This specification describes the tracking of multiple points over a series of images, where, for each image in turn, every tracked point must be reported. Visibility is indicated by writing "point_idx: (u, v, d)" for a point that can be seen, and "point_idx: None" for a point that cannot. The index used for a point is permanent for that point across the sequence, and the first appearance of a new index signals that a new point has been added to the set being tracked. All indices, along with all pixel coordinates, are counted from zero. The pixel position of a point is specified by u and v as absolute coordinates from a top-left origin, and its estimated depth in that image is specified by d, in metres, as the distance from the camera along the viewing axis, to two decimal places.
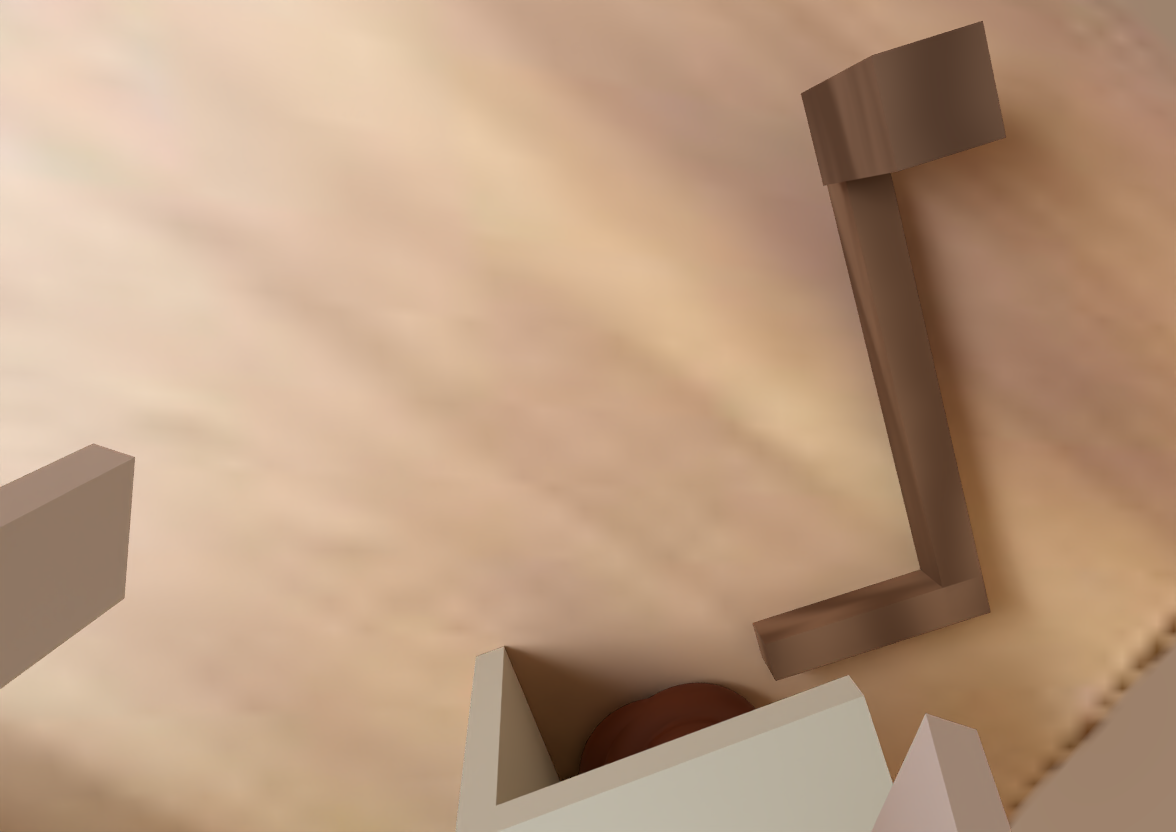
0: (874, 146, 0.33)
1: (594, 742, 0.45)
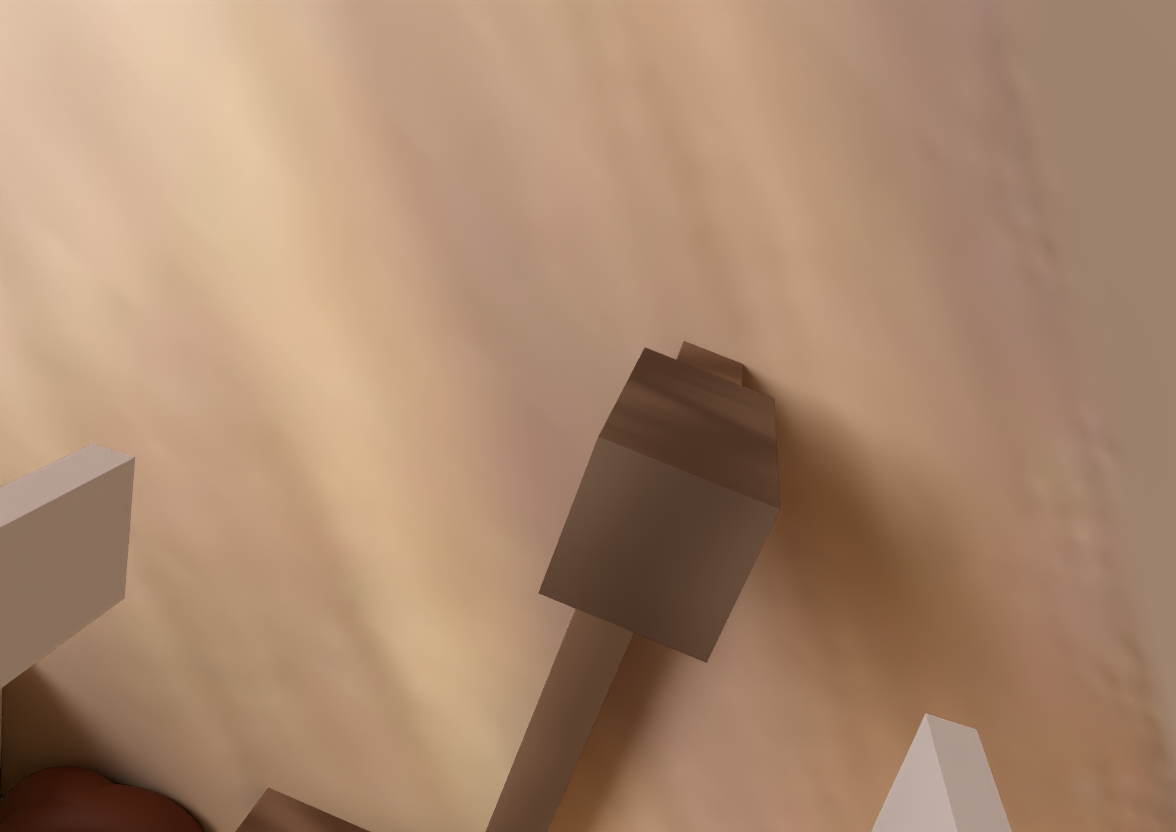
0: None
1: (26, 786, 0.37)
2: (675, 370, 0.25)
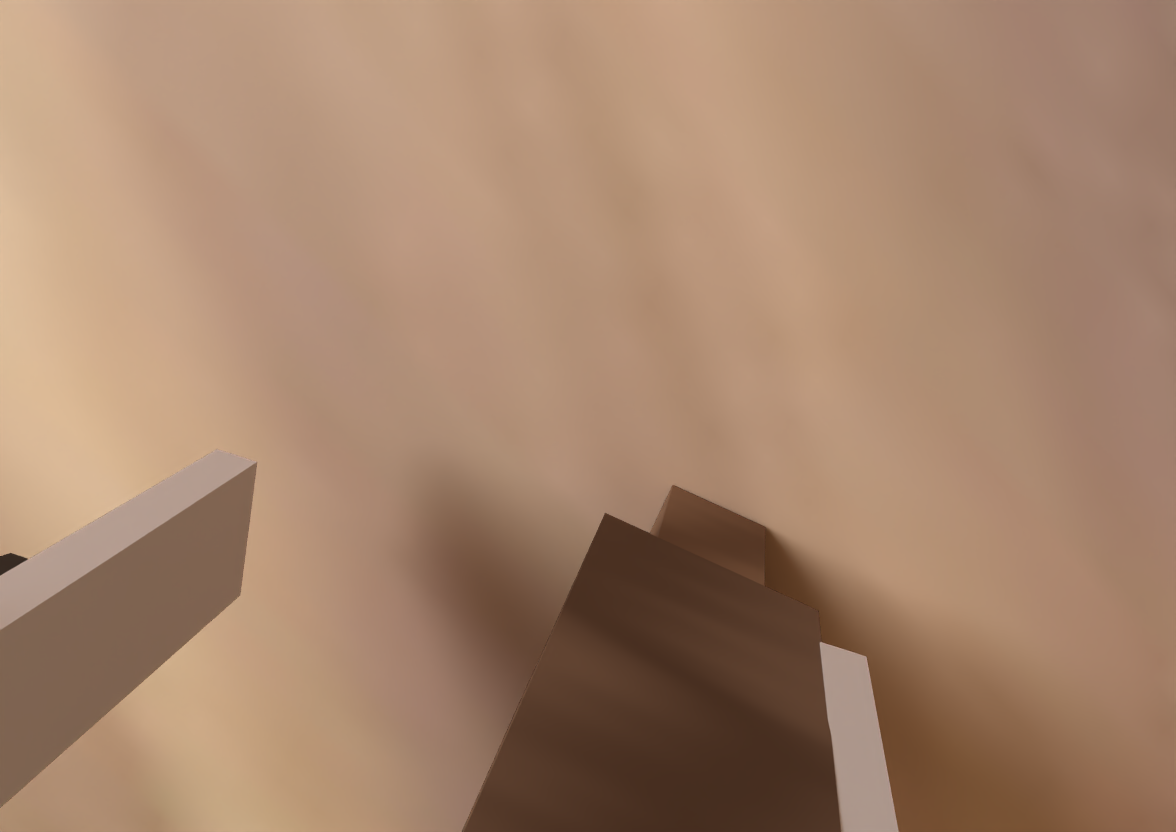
0: None
1: None
2: (653, 566, 0.15)
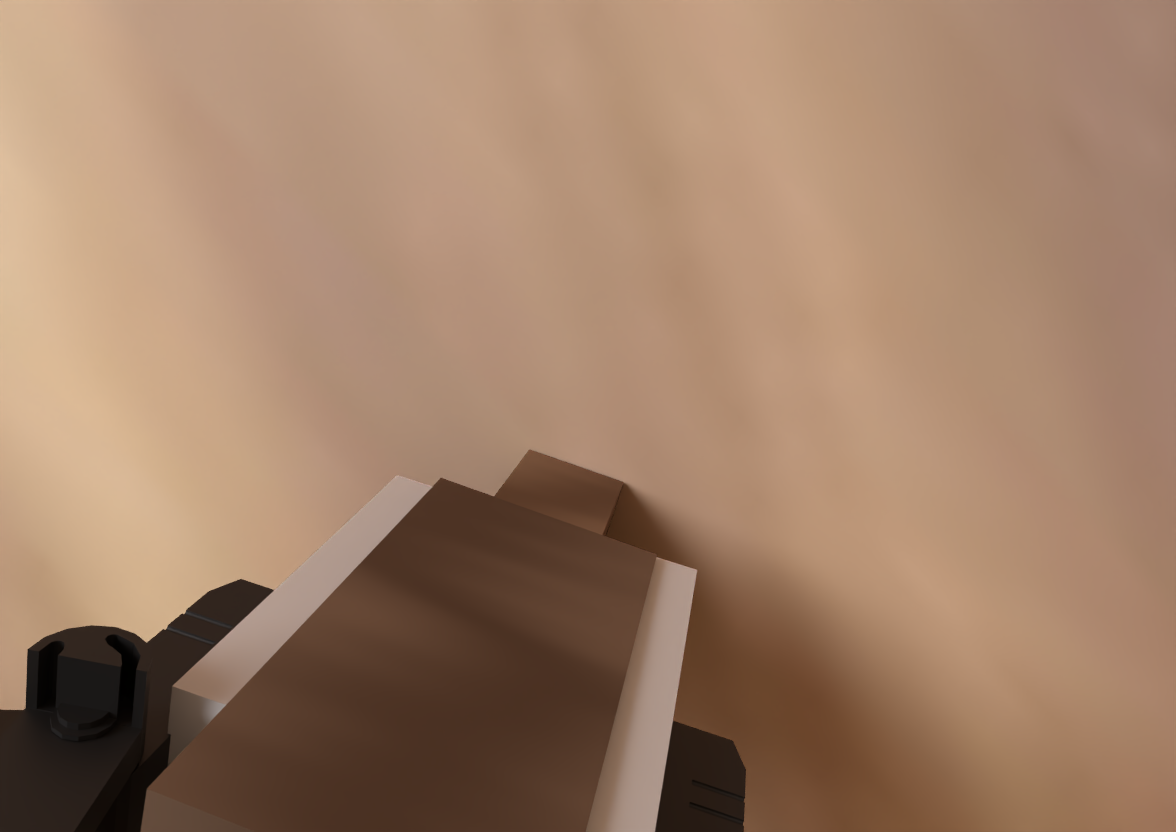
0: None
1: None
2: (478, 523, 0.15)
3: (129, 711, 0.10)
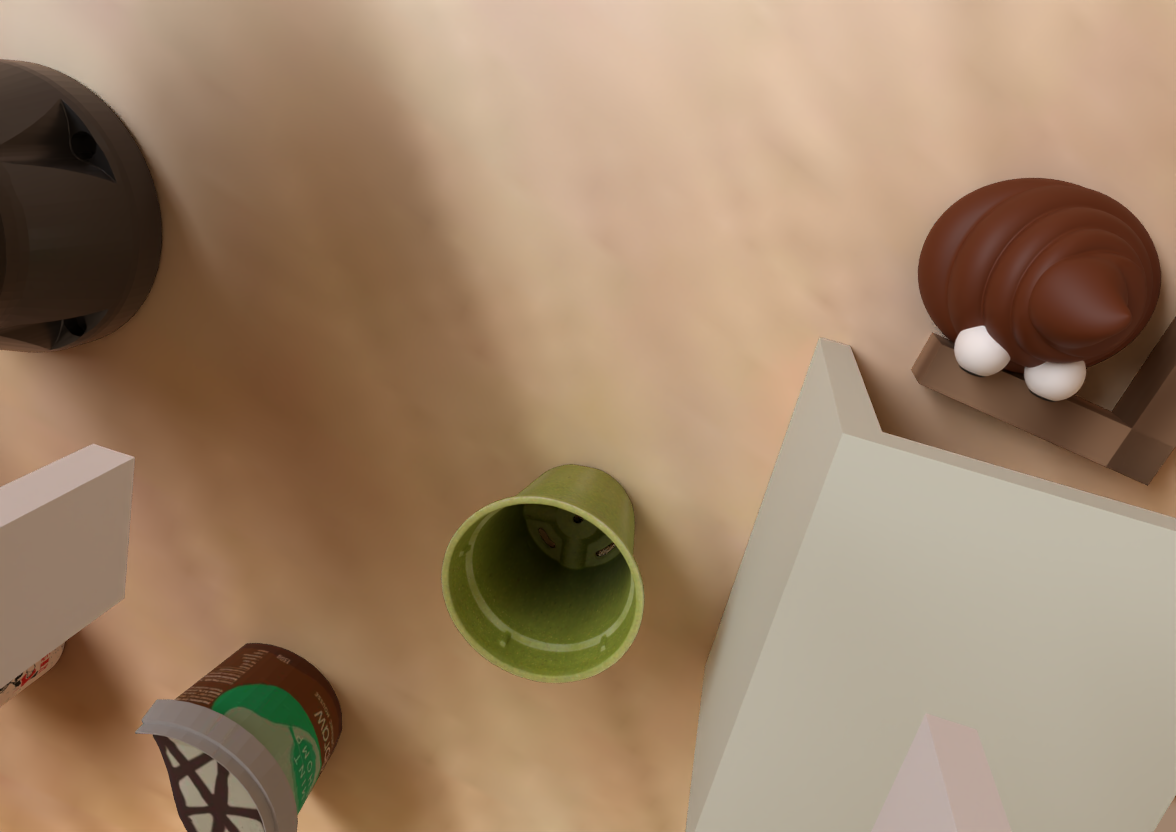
0: None
1: (997, 186, 0.38)
2: None
3: None
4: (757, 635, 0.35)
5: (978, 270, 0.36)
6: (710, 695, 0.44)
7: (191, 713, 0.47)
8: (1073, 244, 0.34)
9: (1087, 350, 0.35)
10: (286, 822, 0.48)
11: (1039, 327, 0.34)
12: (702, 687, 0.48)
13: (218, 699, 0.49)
